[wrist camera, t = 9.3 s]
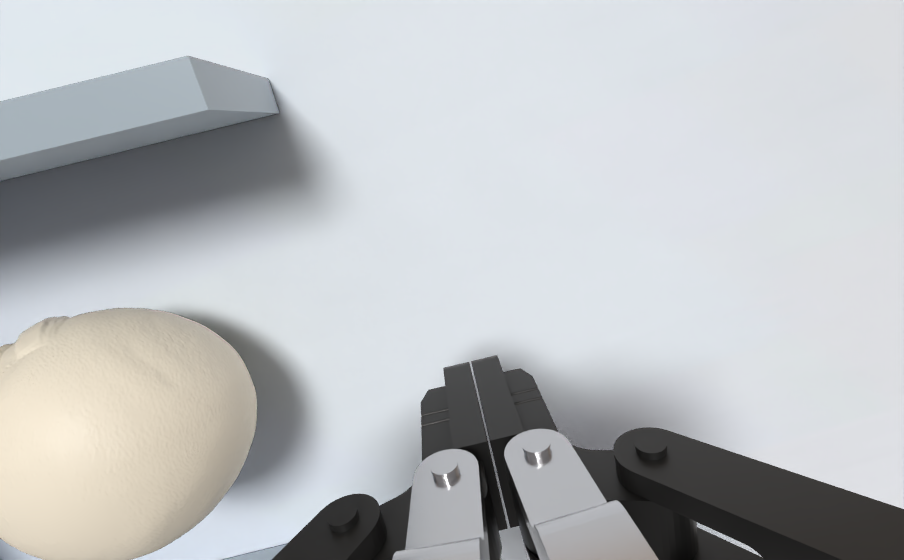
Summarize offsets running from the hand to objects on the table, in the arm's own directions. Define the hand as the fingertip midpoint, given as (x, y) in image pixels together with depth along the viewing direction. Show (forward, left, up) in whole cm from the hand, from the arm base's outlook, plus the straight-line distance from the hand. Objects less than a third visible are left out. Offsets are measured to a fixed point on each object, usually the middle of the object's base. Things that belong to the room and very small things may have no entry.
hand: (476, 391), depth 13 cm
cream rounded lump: (-6, +9, -5) cm, 11 cm away
